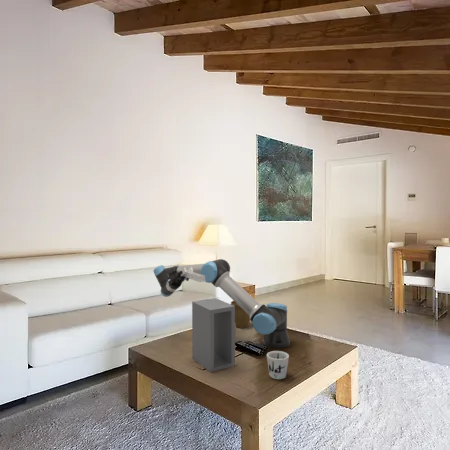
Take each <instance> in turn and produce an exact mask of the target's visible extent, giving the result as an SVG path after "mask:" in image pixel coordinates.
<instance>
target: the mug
mask: <svg viewBox="0 0 450 450" xmlns="http://www.w3.org/2000/svg"><path fill="white" fill-rule="evenodd" d="M289 355H290V354H289V353H287V352H285V351H281V350H272V351H269V352H267V353H266V361H267V369H268V374H269V377H270V378H272V379H275V380H282V379H285V378H286V377H287V372H288V366H289V359H290V356H289Z"/></svg>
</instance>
